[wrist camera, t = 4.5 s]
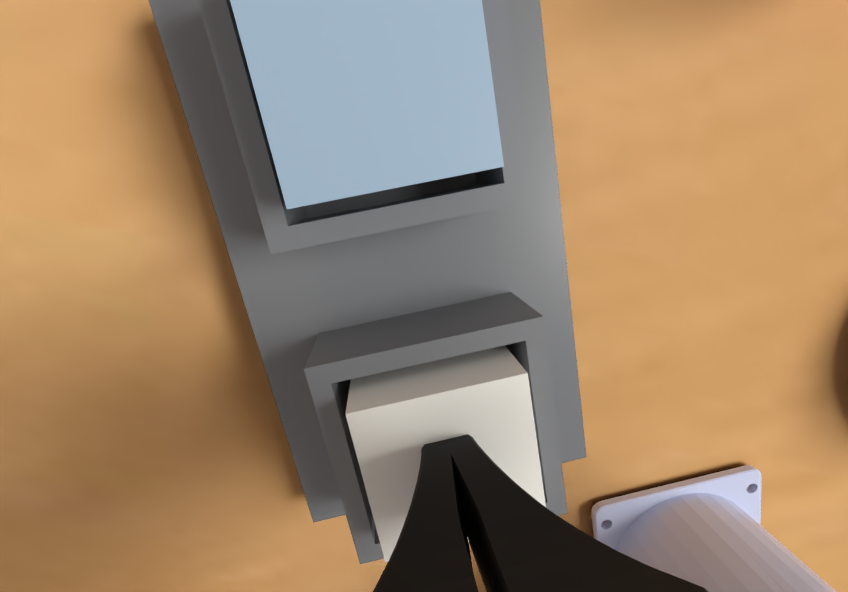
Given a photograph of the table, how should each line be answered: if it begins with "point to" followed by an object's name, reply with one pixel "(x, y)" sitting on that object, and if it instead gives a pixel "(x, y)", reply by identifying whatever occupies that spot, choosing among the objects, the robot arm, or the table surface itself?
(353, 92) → the blue key
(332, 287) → the key panel
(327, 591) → the table surface
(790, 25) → the table surface
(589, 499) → the table surface
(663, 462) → the table surface
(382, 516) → the white key
